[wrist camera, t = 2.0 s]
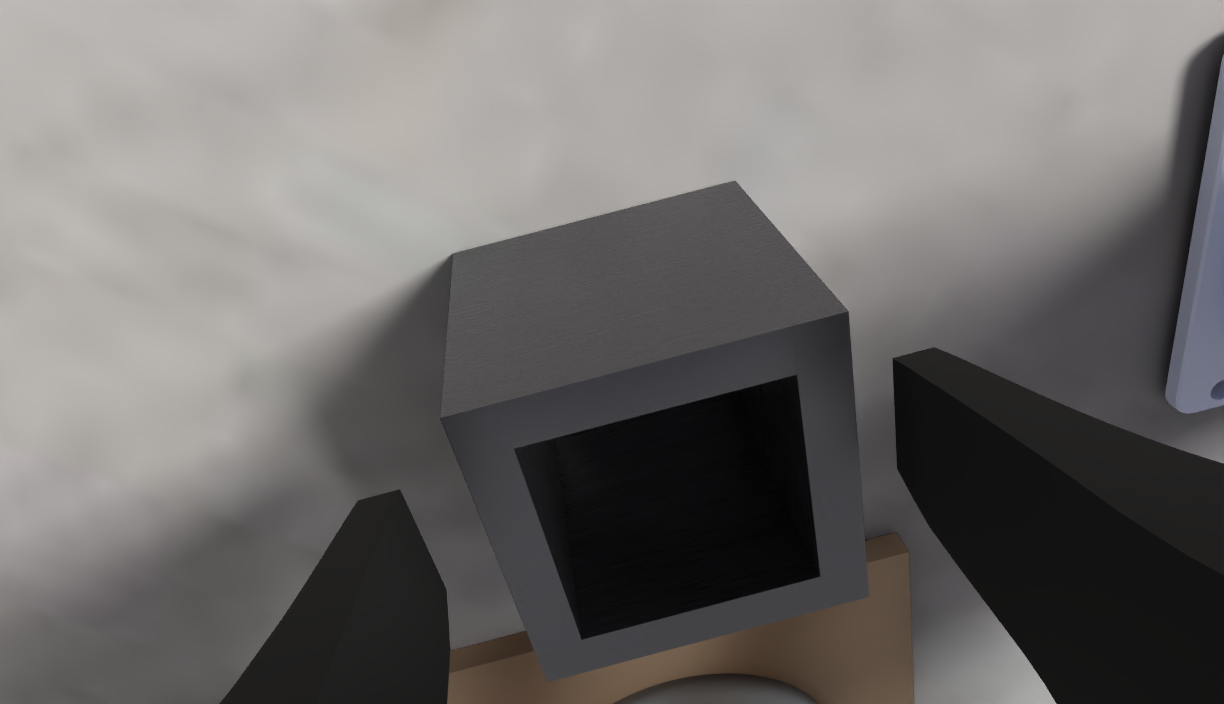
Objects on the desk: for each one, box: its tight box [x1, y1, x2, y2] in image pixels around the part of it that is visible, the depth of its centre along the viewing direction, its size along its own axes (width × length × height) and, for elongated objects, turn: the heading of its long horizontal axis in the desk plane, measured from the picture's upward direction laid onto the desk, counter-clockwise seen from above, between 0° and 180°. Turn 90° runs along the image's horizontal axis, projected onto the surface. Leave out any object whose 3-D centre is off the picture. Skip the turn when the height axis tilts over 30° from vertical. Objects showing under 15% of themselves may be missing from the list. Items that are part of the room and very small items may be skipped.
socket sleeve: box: [440, 181, 869, 682], centre depth 13 cm, size 5×5×5 cm
